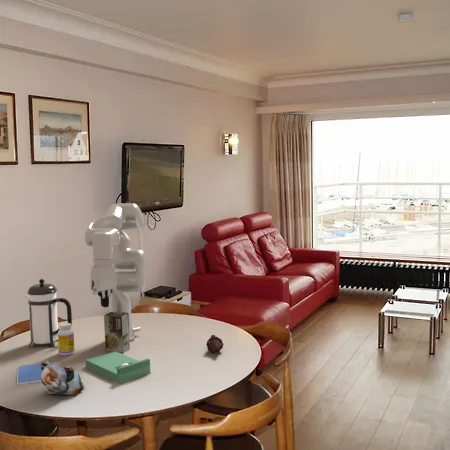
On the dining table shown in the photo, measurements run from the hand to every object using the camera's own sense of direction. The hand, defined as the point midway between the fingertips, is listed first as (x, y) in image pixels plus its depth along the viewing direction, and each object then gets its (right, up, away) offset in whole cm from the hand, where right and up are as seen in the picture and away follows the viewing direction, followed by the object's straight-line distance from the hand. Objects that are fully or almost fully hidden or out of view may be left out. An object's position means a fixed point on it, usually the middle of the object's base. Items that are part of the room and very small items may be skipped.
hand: (105, 306), depth 228 cm
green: (+6, -24, -7) cm, 26 cm away
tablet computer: (-26, -26, -9) cm, 37 cm away
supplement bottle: (-20, -23, +14) cm, 33 cm away
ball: (+9, -23, -10) cm, 27 cm away
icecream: (+44, -22, +13) cm, 51 cm away
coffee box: (+2, -22, +18) cm, 28 cm away
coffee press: (-32, -21, +28) cm, 48 cm away
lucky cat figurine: (-9, -27, -28) cm, 40 cm away
